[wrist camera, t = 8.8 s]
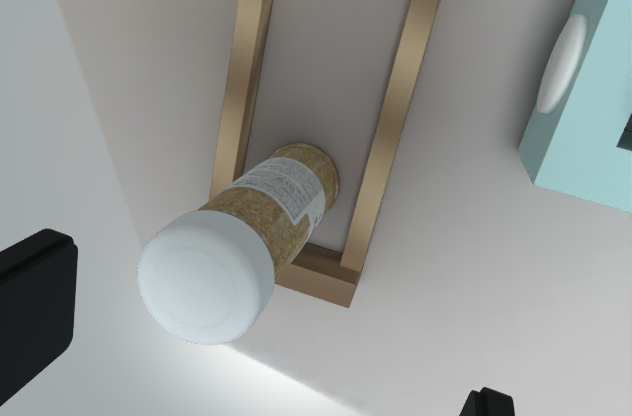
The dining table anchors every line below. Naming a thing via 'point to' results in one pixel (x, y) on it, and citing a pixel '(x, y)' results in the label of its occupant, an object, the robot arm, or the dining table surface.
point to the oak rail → (345, 269)
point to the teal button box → (586, 108)
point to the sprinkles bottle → (236, 246)
